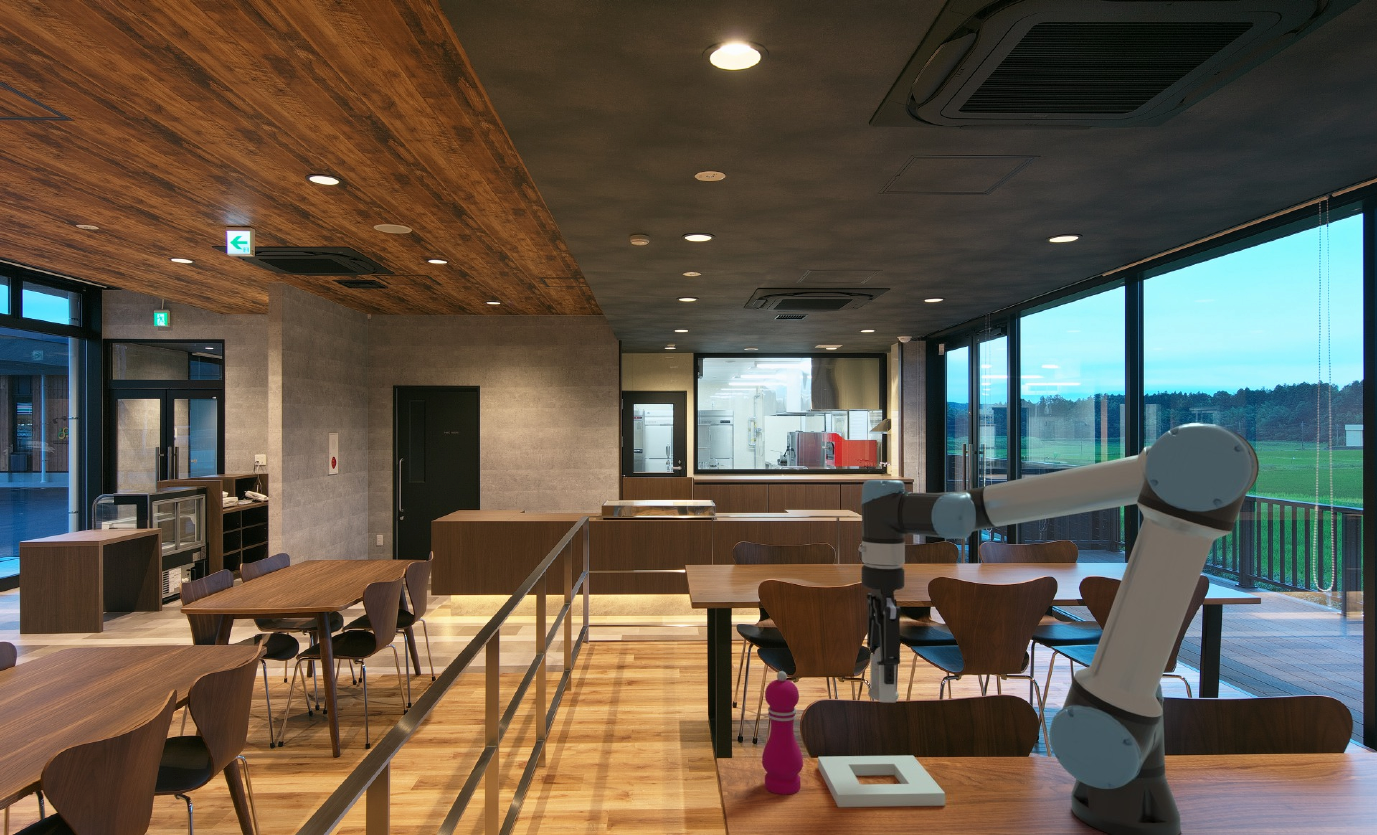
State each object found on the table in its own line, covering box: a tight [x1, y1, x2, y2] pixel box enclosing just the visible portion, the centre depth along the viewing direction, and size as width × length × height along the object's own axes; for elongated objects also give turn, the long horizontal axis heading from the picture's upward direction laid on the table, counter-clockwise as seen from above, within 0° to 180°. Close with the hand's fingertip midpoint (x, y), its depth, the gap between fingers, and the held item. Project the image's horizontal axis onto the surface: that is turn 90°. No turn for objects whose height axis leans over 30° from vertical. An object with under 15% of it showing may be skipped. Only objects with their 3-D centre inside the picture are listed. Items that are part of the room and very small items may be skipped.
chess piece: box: [867, 647, 900, 702], centre depth 133 cm, size 5×5×9 cm
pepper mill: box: [761, 670, 804, 795], centre depth 132 cm, size 7×7×20 cm
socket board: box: [817, 755, 946, 808], centre depth 132 cm, size 18×16×2 cm
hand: (882, 695), depth 133 cm, fingers closed on chess piece, 5 cm apart
